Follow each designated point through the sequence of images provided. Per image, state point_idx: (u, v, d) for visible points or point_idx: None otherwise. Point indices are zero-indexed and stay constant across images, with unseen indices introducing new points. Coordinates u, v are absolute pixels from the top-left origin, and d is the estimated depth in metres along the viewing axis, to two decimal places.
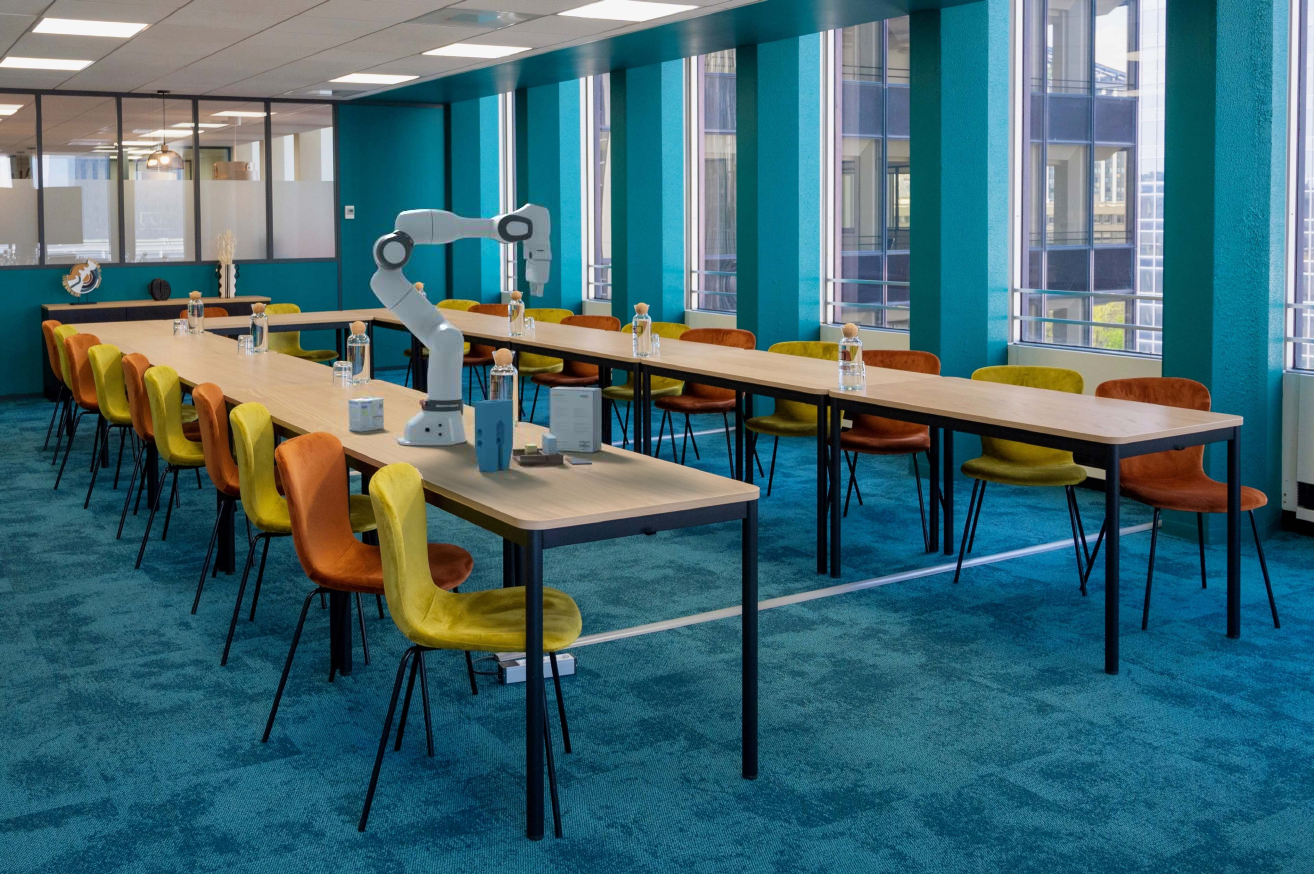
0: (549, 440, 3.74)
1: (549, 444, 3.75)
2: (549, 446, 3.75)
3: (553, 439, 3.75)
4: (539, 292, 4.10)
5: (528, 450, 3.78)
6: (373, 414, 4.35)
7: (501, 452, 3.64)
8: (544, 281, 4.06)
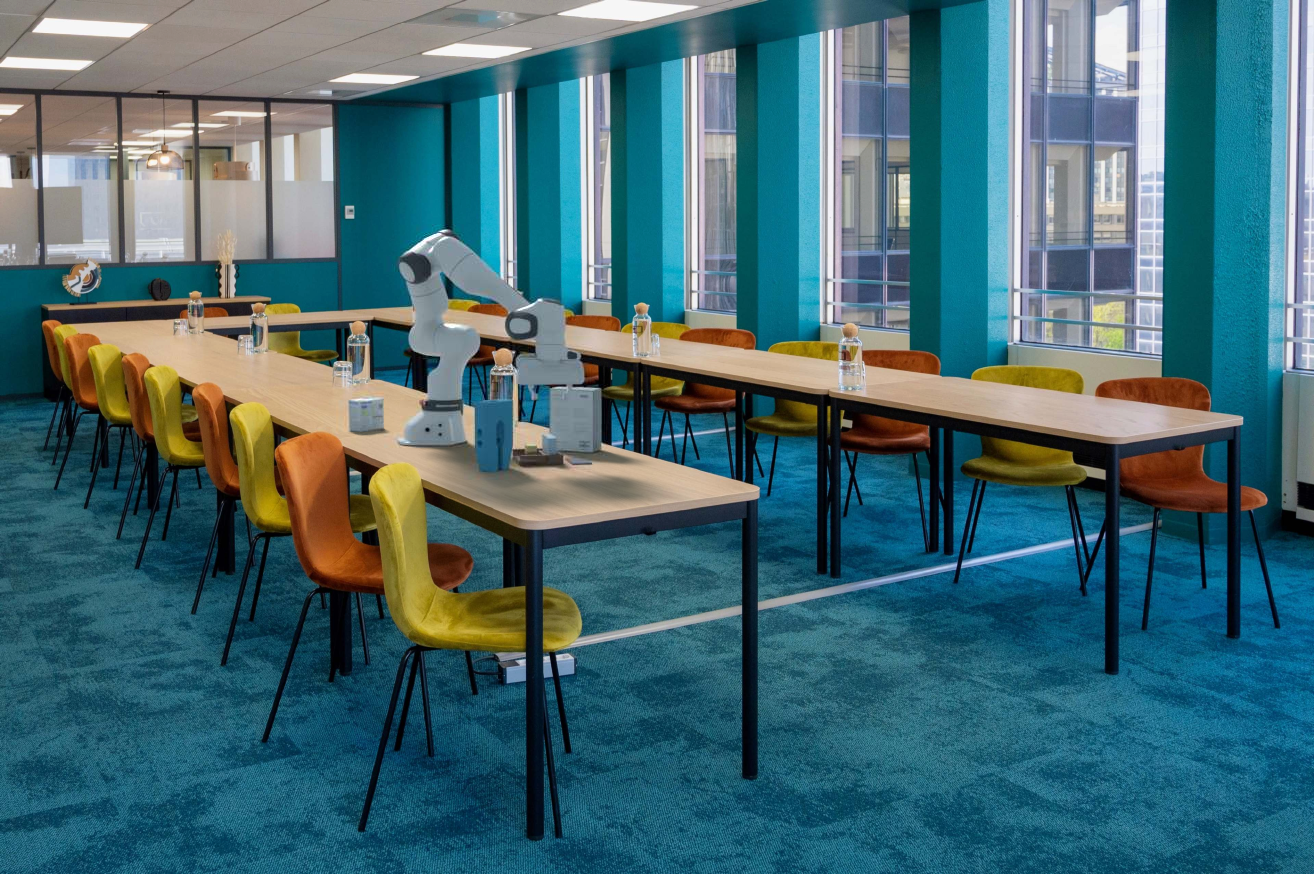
0: (549, 440, 3.74)
1: (549, 444, 3.75)
2: (549, 446, 3.75)
3: (553, 439, 3.75)
4: None
5: (528, 450, 3.78)
6: (373, 414, 4.35)
7: (501, 452, 3.64)
8: None
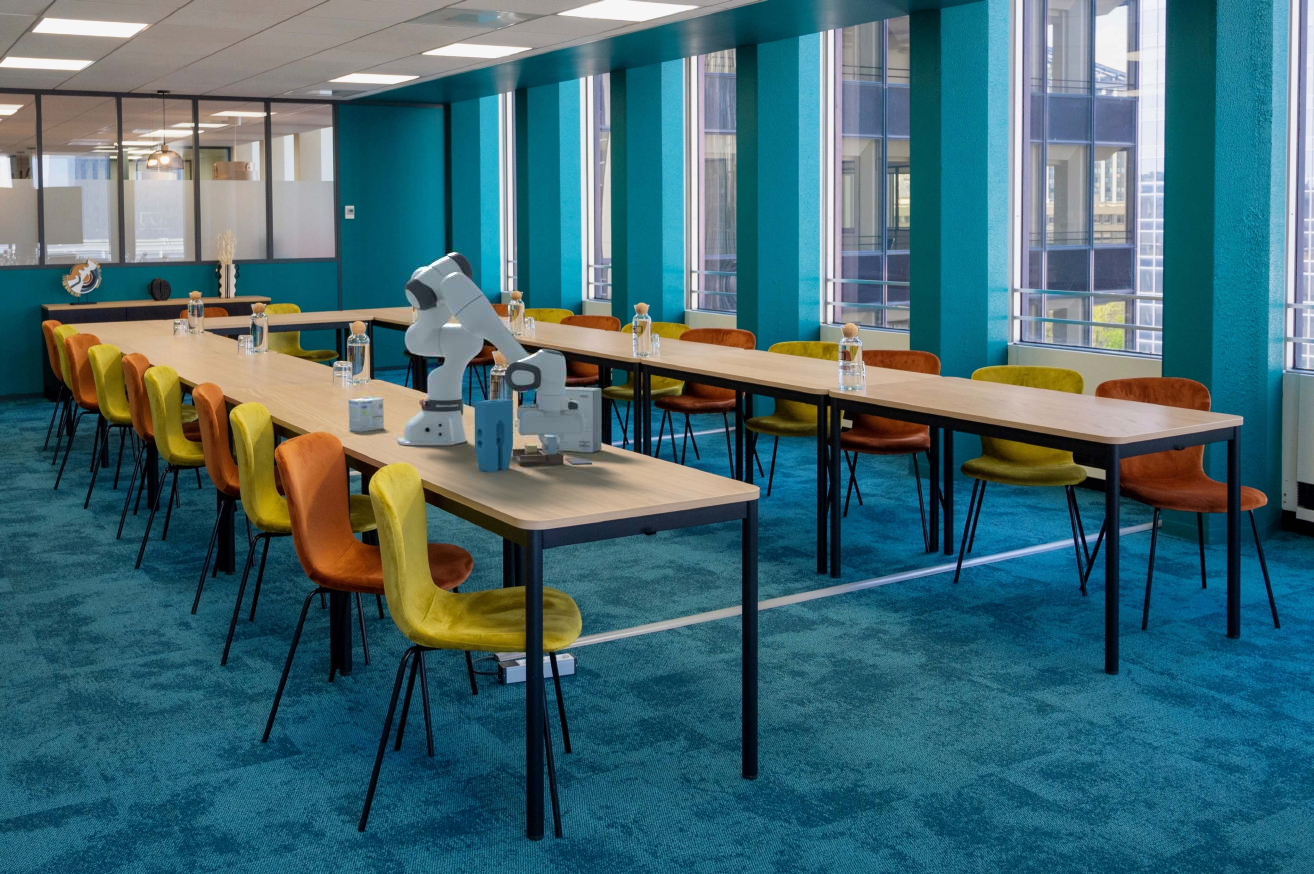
0: (549, 440, 3.74)
1: (549, 444, 3.75)
2: (549, 446, 3.75)
3: (553, 439, 3.75)
4: None
5: (528, 450, 3.78)
6: (373, 414, 4.35)
7: (501, 452, 3.64)
8: None
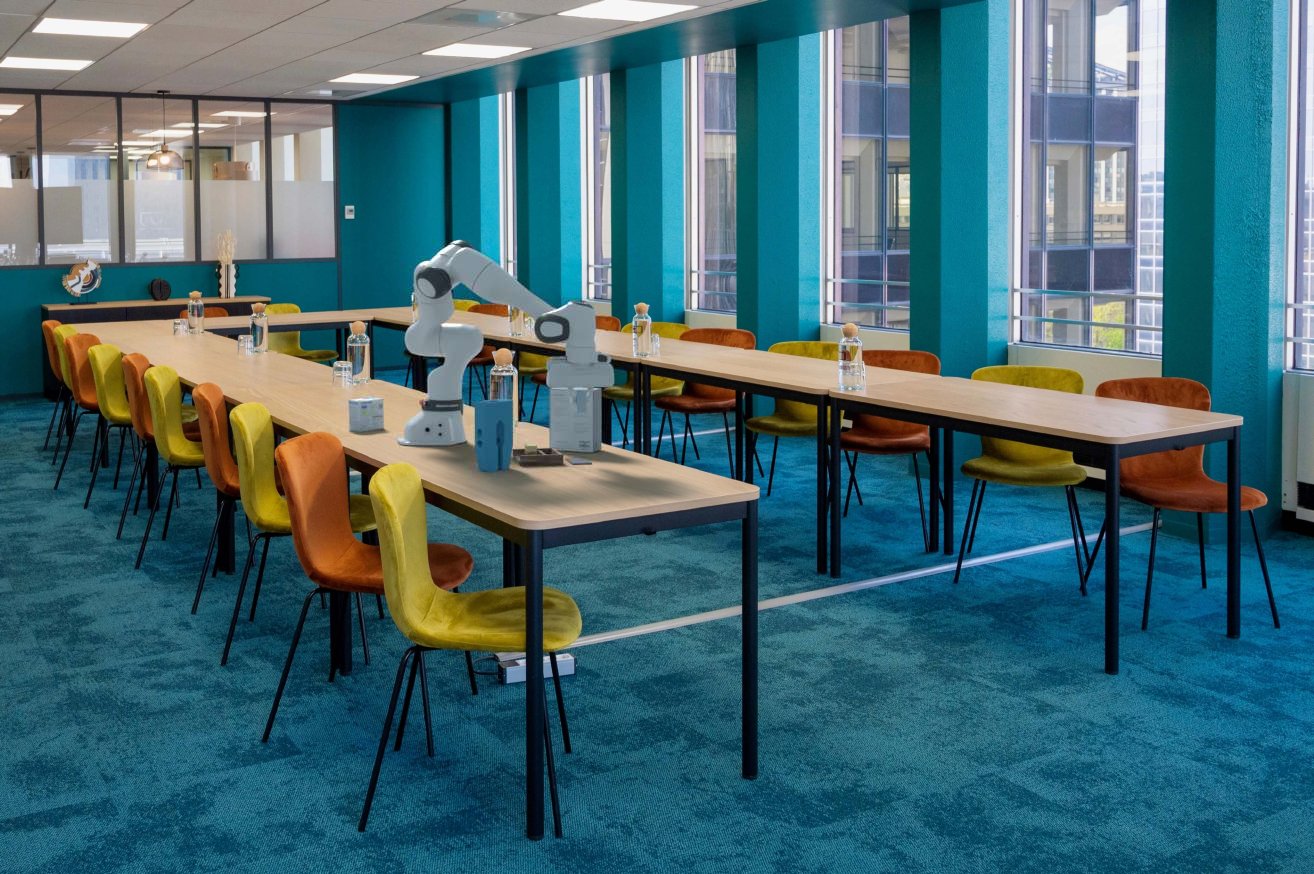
0: (578, 393, 3.72)
1: (578, 397, 3.72)
2: (578, 399, 3.72)
3: (582, 392, 3.73)
4: None
5: (528, 450, 3.78)
6: (373, 414, 4.35)
7: (501, 452, 3.64)
8: None
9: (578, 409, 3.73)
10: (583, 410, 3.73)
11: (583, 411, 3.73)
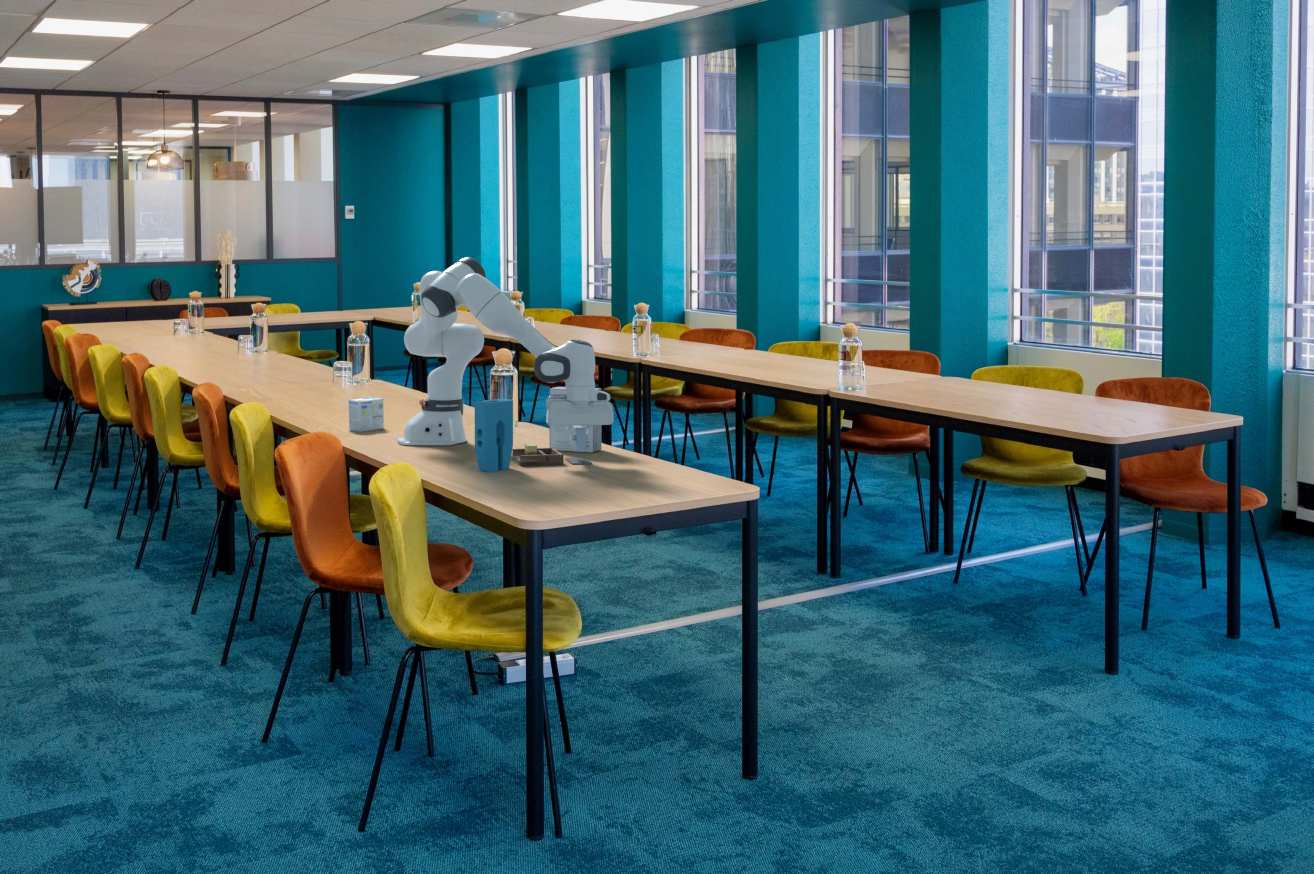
0: (578, 431, 3.74)
1: (578, 435, 3.74)
2: (578, 437, 3.74)
3: (582, 430, 3.74)
4: None
5: (528, 450, 3.78)
6: (373, 414, 4.35)
7: (501, 452, 3.64)
8: None
9: (577, 447, 3.74)
10: (582, 448, 3.75)
11: (582, 449, 3.75)
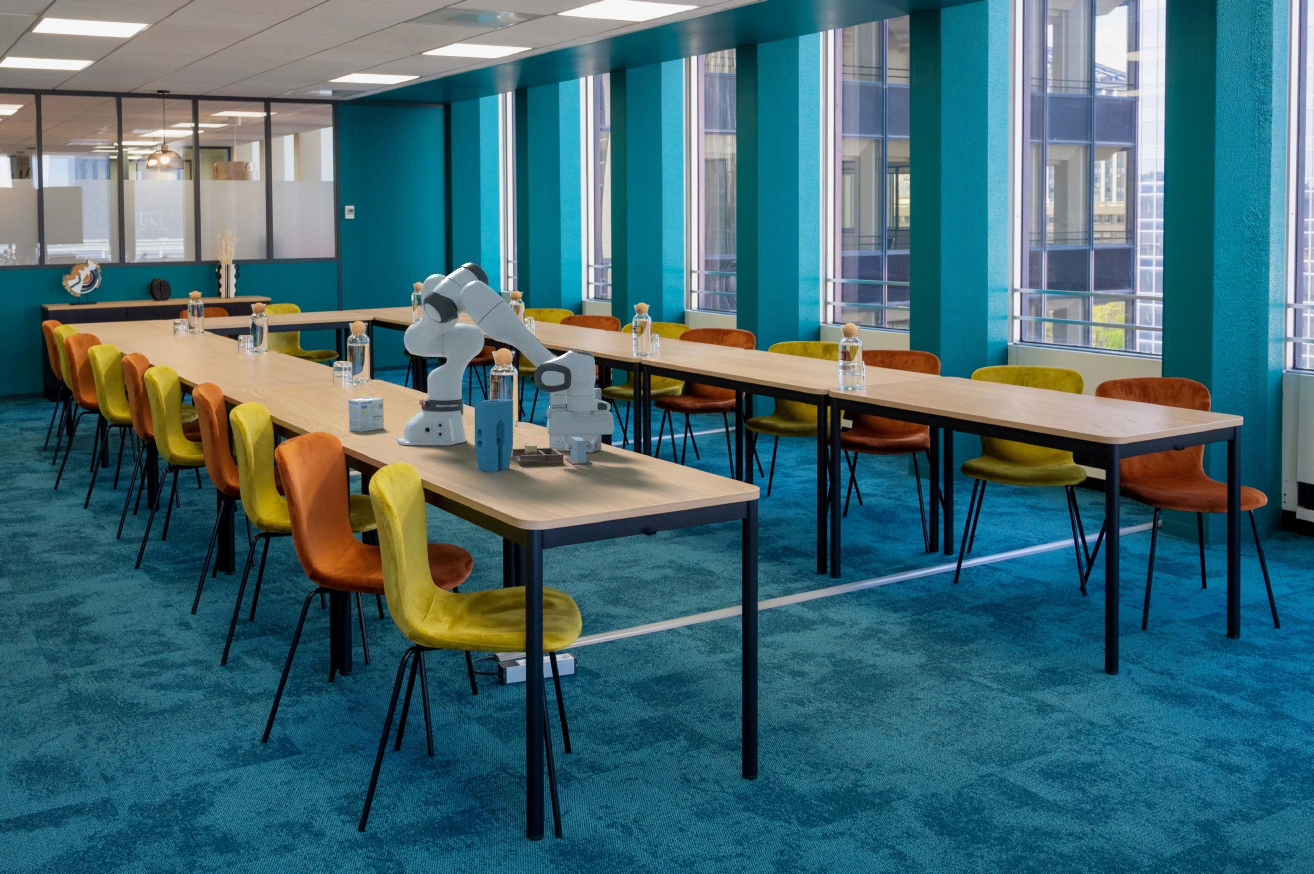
0: (578, 443, 3.75)
1: (578, 447, 3.75)
2: (578, 449, 3.75)
3: (582, 442, 3.75)
4: None
5: (528, 450, 3.78)
6: (373, 414, 4.35)
7: (501, 452, 3.64)
8: None
9: (578, 459, 3.75)
10: (583, 460, 3.76)
11: (583, 461, 3.76)
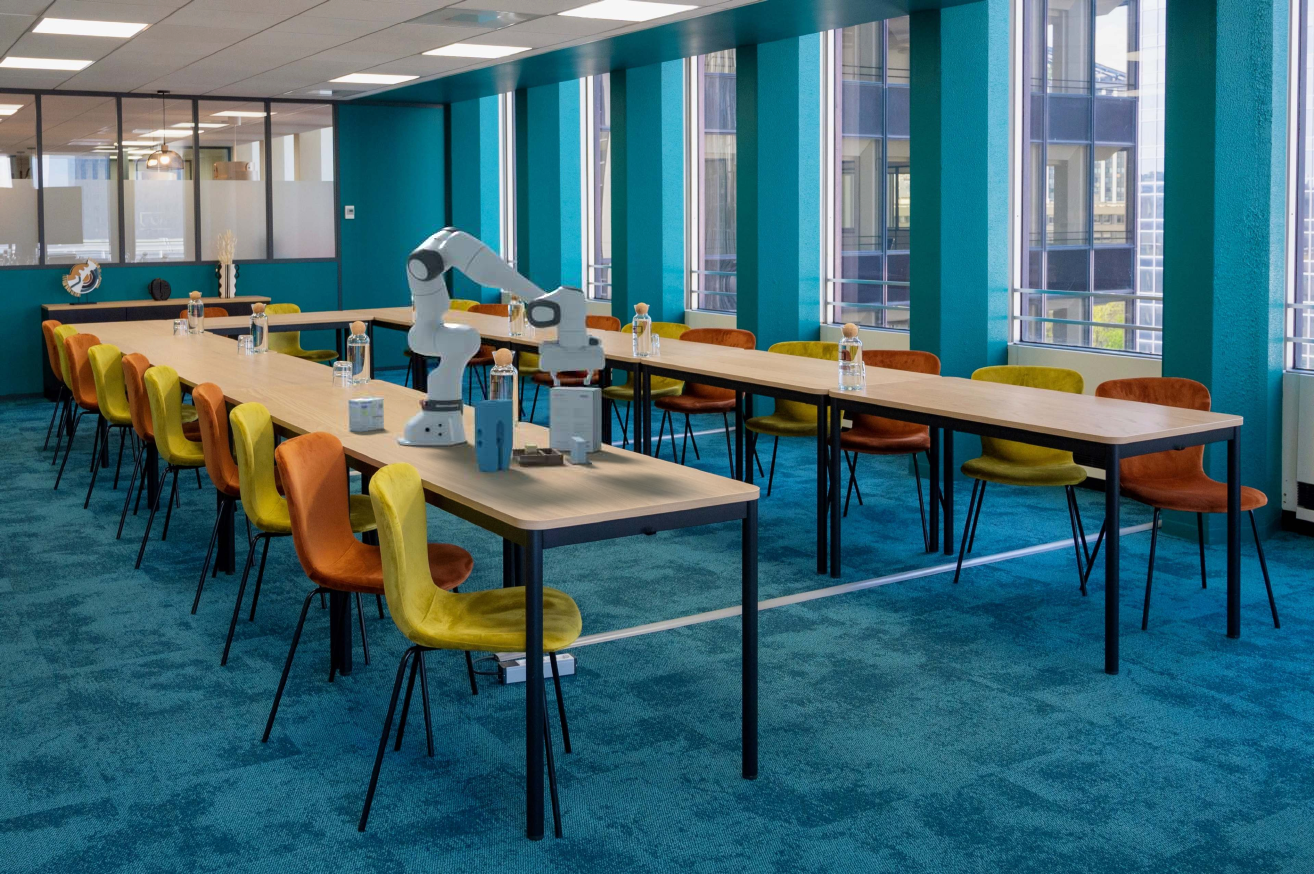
0: (578, 443, 3.75)
1: (578, 447, 3.75)
2: (578, 449, 3.75)
3: (582, 442, 3.75)
4: None
5: (528, 450, 3.78)
6: (373, 414, 4.35)
7: (501, 452, 3.64)
8: None
9: (578, 459, 3.75)
10: (583, 460, 3.76)
11: (583, 461, 3.76)
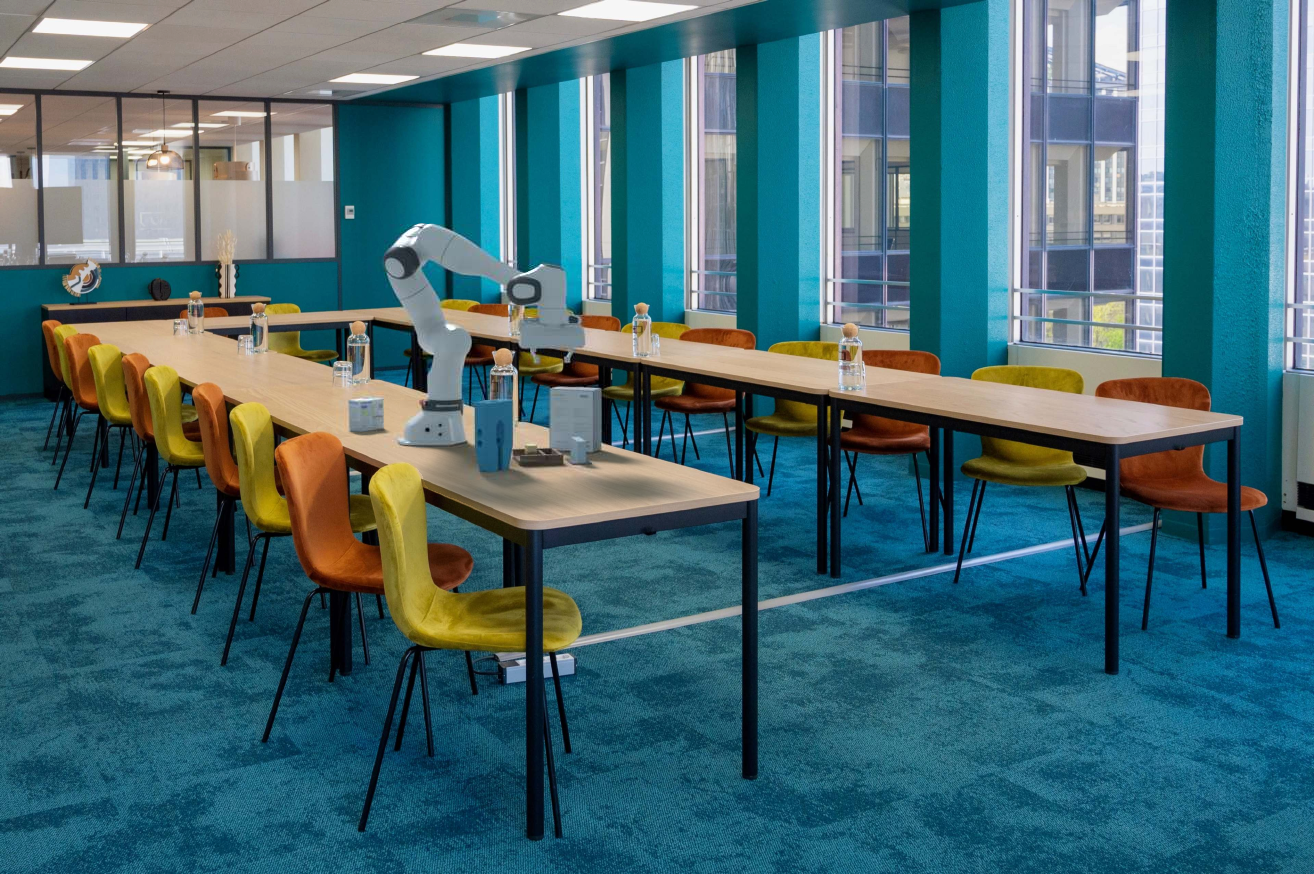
0: (578, 443, 3.75)
1: (578, 447, 3.75)
2: (578, 449, 3.75)
3: (582, 442, 3.75)
4: None
5: (528, 450, 3.78)
6: (373, 414, 4.35)
7: (501, 452, 3.64)
8: None
9: (578, 459, 3.75)
10: (583, 460, 3.76)
11: (583, 461, 3.76)
